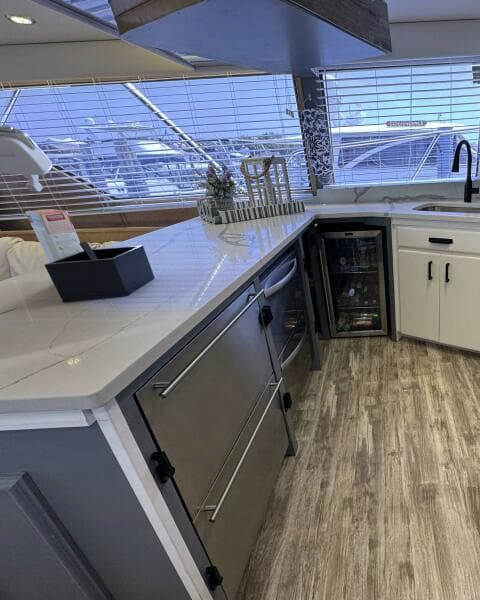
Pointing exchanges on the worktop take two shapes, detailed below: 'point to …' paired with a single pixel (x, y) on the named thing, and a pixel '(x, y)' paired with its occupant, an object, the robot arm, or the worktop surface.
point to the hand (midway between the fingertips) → (10, 189)
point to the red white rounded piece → (88, 251)
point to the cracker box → (55, 233)
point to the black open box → (101, 273)
